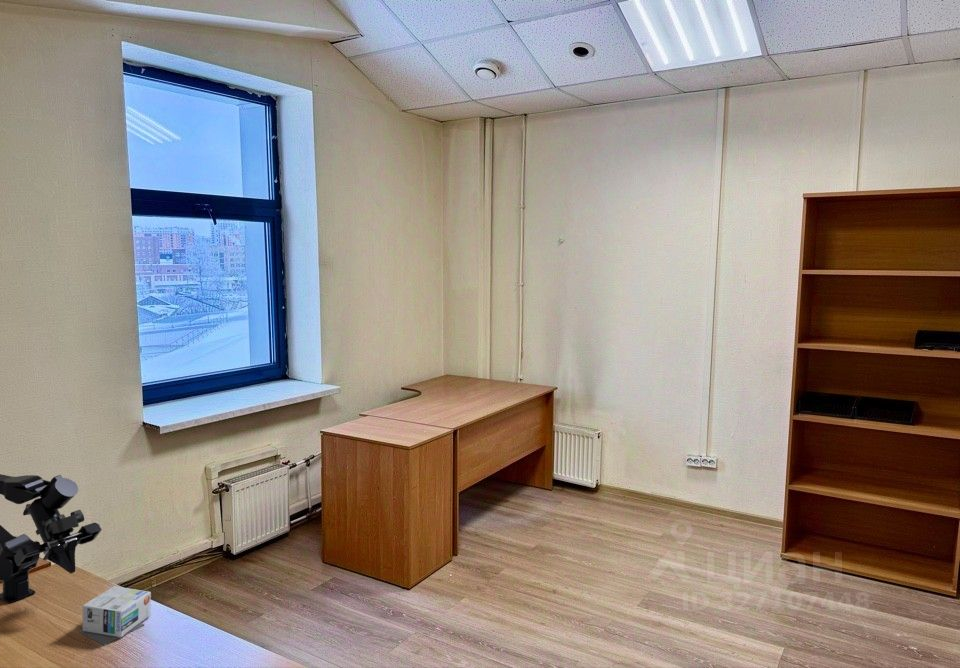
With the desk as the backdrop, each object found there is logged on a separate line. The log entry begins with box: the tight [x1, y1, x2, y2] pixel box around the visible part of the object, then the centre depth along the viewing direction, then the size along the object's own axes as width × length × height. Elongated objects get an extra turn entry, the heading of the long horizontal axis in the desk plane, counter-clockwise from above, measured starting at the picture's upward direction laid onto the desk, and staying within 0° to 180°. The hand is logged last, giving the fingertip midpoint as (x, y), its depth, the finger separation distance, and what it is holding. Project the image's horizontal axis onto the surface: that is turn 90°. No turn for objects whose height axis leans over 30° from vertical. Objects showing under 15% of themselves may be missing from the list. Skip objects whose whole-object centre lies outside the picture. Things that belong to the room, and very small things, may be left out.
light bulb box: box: [82, 585, 152, 638], centre depth 163 cm, size 11×7×11 cm
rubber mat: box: [79, 622, 145, 646], centre depth 162 cm, size 10×10×1 cm
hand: (73, 572), depth 167 cm, fingers closed
